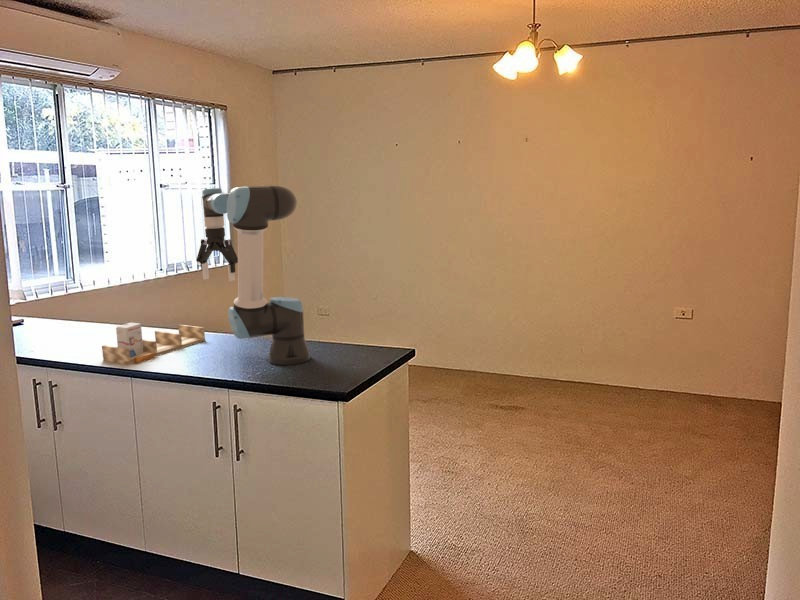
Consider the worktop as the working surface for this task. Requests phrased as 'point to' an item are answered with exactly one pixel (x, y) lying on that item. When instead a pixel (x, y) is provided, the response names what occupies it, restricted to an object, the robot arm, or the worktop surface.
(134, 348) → the ink box
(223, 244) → the robot arm
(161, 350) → the rack
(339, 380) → the worktop surface
